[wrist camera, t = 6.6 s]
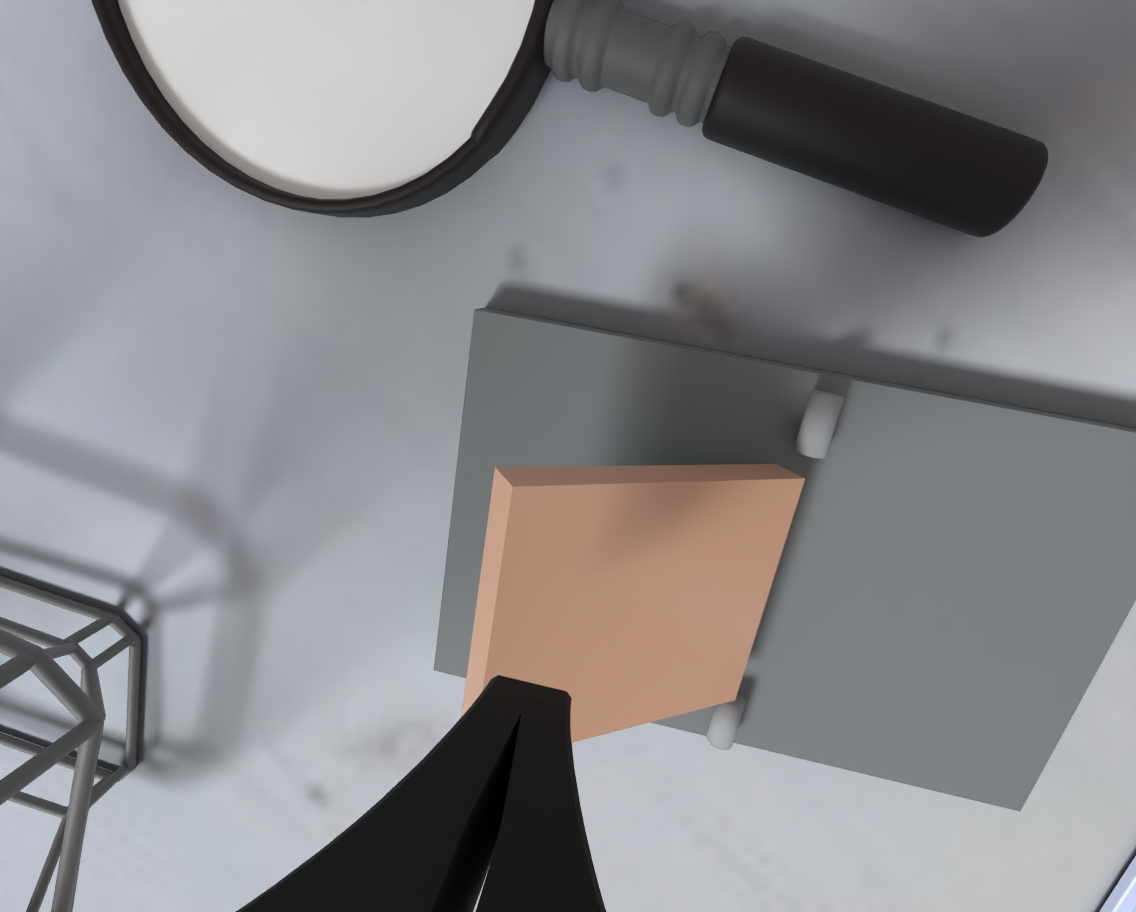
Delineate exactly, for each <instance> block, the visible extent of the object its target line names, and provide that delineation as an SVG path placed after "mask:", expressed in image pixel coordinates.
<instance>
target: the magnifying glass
mask: <svg viewBox="0 0 1136 912" xmlns="http://www.w3.org/2000/svg"><path fill="white" fill-rule="evenodd" d="M92 4H93V6H94V9H95V11H96V14H97V16H98V19H99V22H100V24H101V27H102V29H103V32H104V34H105V37H106V39H107V41H108V43H109V45H110V47H111V49H112V51H113V53H114V55H115V57H116V59H117V61H118V63H119V65H120V67H121V69H122V71H123V73H124V74H125V76H126V77H127V79H128V81H129V82H130V84H131V85H132V87H133V88H134V90H135V92H136V93H137V95H138V96H139V98H140V100H141V101H142V102H143V104H144V105H145V106H146V107H147V109H148V110H149V111H150V113H151V114H152V115H153V116H154V118H155V119H156V120H157V121H158V123H159V124H160V125H161V127H162V128H163V129H164V130H165V131H166V132H167V133H168V134H169V135H170V136H171V137H172V138H173V139H174V140H175V141H176V142H177V143H178V144H179V145H180V146H181V147H182V148H183V149H184V150H185V151H186V152H187V153H188V154H190V155H191V156H192V157H193V158H194V159H196V160H197V161H198V162H199V163H201V164H202V165H203V166H204V167H205V168H207V169H208V170H209V171H211V172H212V173H214V174H215V175H217V176H219V177H220V178H222V179H223V180H225V181H226V182H228V183H230V184H231V185H233V186H234V187H236V188H238V189H241V190H243V191H245V192H247V193H249V194H251V195H254V196H256V197H258V198H260V199H262V200H264V201H267V202H270V203H274V204H277V205H280V206H283V207H287V208H290V209H293V210H299V211H305V212H310V213H316V214H323V215H329V216H336V217H374V216H381V215H388V214H394V213H398V212H401V211H404V210H408V209H411V208H414V207H417V206H421V205H423V204H425V203H427V202H429V201H431V200H433V199H435V198H437V197H440V196H442V195H444V194H446V193H447V192H449V191H450V190H452V189H453V188H455V187H456V186H458V185H459V184H461V183H462V182H464V181H465V180H467V179H468V178H470V177H471V176H472V175H473V174H474V173H475V172H477V171H478V170H479V169H480V168H481V167H482V166H483V165H484V164H486V163H487V162H488V161H489V160H490V159H492V158H493V157H494V156H495V155H497V154H498V153H499V152H500V151H501V149H502V148H503V147H504V146H505V144H506V143H507V142H508V141H509V139H510V138H511V137H512V136H513V134H514V133H515V132H516V130H517V129H518V127H519V126H520V124H521V123H522V121H523V120H524V118H525V117H526V115H527V114H528V112H529V110H530V109H531V107H532V106H533V104H534V102H535V100H536V98H537V96H538V94H539V92H540V90H541V88H542V86H543V84H544V82H545V80H546V78H547V76H548V74H549V71H550V68H551V69H552V72H553V74H554V76H555V77H556V79H558V80H560V81H563V82H569V81H571V80H572V79H574V78H575V77H578V79H579V82H580V84H581V86H582V87H583V88H584V89H585V90H588V91H591V92H596V91H598V90H600V89H601V88H603V87H606V88H609V89H611V90H614V91H617V92H620V93H622V94H625V95H628V96H631V97H633V98H636V99H639V100H642V101H644V102H647V103H648V105H649V109H650V111H651V113H653V114H654V115H656V116H660V117H663V116H666V115H667V114H669V113H670V112H675V113H676V115H677V120H678V122H679V123H680V124H682V125H684V126H688V127H690V126H693V125H695V124H696V123H698V122H702V123H703V127H702V133H703V135H704V137H705V138H707V139H709V140H712V141H714V142H717V143H720V144H722V145H725V146H728V147H731V148H733V149H736V150H739V151H742V152H745V153H747V154H750V155H753V156H756V157H758V158H761V159H764V160H767V161H769V162H772V163H775V164H778V165H780V166H783V167H786V168H789V169H791V170H794V171H797V172H800V173H802V174H805V175H808V176H811V177H813V178H816V179H819V180H822V181H824V182H827V183H830V184H833V185H835V186H838V187H841V188H844V189H846V190H849V191H852V192H855V193H857V194H860V195H863V196H866V197H868V198H871V199H874V200H877V201H879V202H882V203H885V204H888V205H890V206H893V207H896V208H899V209H901V210H904V211H907V212H910V213H912V214H915V215H918V216H921V217H923V218H926V219H929V220H932V221H934V222H937V223H940V224H943V225H945V226H948V227H951V228H954V229H956V230H959V231H962V232H965V233H967V234H970V235H973V236H977V237H986V236H989V235H992V234H994V233H996V232H998V231H999V230H1001V229H1002V228H1003V227H1005V226H1006V225H1007V224H1008V223H1009V222H1010V221H1012V220H1013V219H1014V218H1015V217H1016V215H1017V214H1018V213H1019V212H1020V211H1021V210H1022V209H1023V207H1024V206H1025V205H1026V204H1027V202H1028V201H1029V199H1030V198H1031V196H1032V195H1033V193H1034V192H1035V190H1036V189H1037V187H1038V185H1039V183H1040V181H1041V179H1042V177H1043V175H1044V172H1045V169H1046V166H1047V162H1048V151H1047V148H1046V146H1045V144H1043V143H1042V142H1040V141H1038V140H1035V139H1033V138H1030V137H1027V136H1025V135H1022V134H1019V133H1016V132H1013V131H1010V130H1008V129H1005V128H1002V127H999V126H996V125H994V124H991V123H988V122H985V121H982V120H979V119H977V118H974V117H971V116H968V115H965V114H962V113H960V112H957V111H954V110H951V109H948V108H946V107H943V106H940V105H937V104H934V103H931V102H929V101H926V100H923V99H920V98H917V97H914V96H912V95H909V94H906V93H903V92H900V91H897V90H895V89H892V88H889V87H886V86H883V85H881V84H878V83H875V82H872V81H869V80H866V79H864V78H861V77H858V76H855V75H852V74H849V73H847V72H844V71H841V70H838V69H835V68H833V67H830V66H827V65H824V64H821V63H818V62H816V61H813V60H810V59H807V58H804V57H801V56H799V55H796V54H793V53H790V52H787V51H785V50H782V49H779V48H776V47H773V46H770V45H768V44H765V43H762V42H759V41H756V40H753V39H750V38H747V37H741V38H739V39H737V40H736V41H735V42H734V44H733V46H732V48H729V47H727V46H726V42H725V38H724V37H723V35H721V34H720V33H717V32H709V33H707V34H706V35H705V36H704V37H702V38H701V37H698V36H697V34H696V30H695V27H694V26H693V25H692V24H691V23H689V22H687V21H680V22H678V23H676V24H675V25H674V26H672V27H670V26H667V25H664V24H662V23H659V22H656V21H653V20H650V19H647V18H645V17H642V16H639V15H636V14H633V13H631V12H628V11H625V10H624V8H623V4H622V2H621V0H92Z"/></svg>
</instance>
